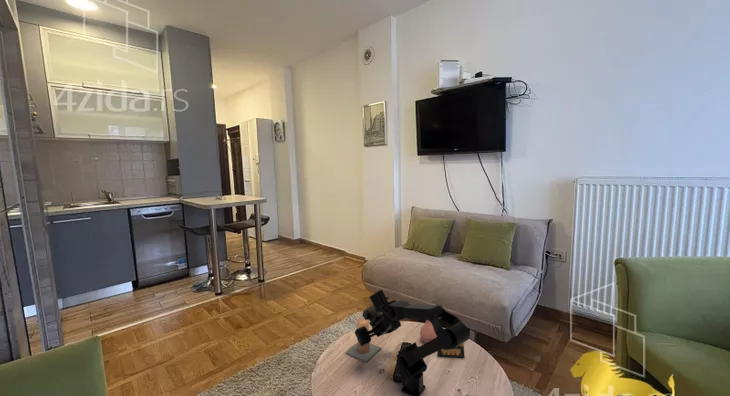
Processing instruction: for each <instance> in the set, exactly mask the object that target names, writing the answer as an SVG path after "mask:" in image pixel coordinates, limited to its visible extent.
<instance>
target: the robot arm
mask: <svg viewBox="0 0 730 396" xmlns="http://www.w3.org/2000/svg"><path fill="white" fill-rule="evenodd" d="M368 299H369V300H370V302H371V304H372V305H370V306H368V307H366V308H364V310H363V311H362V318H365V320H369V327H371V329H369V331H367V329H366V327H365V326H362V327H360V328H358V329H357V328H356V329H355V330H354V334H355V337H356V339H358V341H359V343H360V345H361V346H364V345H366V344H368V343H371V342H372V338H373V337H375V336H376V338H379V337H381V336H383V335H387V334H391V333H393V332H395V331H397V330H398V329H399V328H401V327H402V324H401V321H400V320H403V319H413V320H421V321H422V320H423V321H427V320H429V321H430V322H431V323H432V325H433V328H434V332H435V334H436V335H437V337H436V338H434V339H432V340H430V341H428V342H424V343H423V344H421V345H419V346H418V345H417V342H415V341H414V342H413V343H411V344H409V345H408V346H405V347H403V348H402V349H399V350H398V351H397V354H396V363H397V368H398V373H399V375H400V376H401V378H402V379H401V380H402V381H401V383H402V388H400V390H401V392H403V393H405V394H407V395H409V396H421V395H422V393H423V392H424V390H425V389H426V385H425V384H424V372H426V371H427V369H428V366H427V364H426V362H425V361H424V359H425V358H426V357H428V356H429V357H430V356H431V355H432V354H435V353H437V351H439V350H441V349H444V350H450V351H451V349H455V348H456V347H458V346H459V345H461V344H463V343H464V344H465V343H466V342H467V341H469V340H470V338H471V333H470V330H469V328H468V327H467V325H466V324H465V323H464V322H463V321H462V320H461V319H460V318H459V317H457V316H456V315H455V314H452V312H451V313H450V312H449V311H447V310H446V309H445V308H444V307H442V305H439V304H435V305H428V304H427V305H424V304H410V303H409V301H405V300H401V299H400V300H395V299H392V300H391V301H389V300H388V299H387V296H386V295H385V293H384V291H383V289H379V290H378V291H377V292H375V293H373V294H372V295H370V296H369V298H368ZM440 320H442V322H445V323H447V324H449V325H448V326H446V327H445V328H444V327H443V326H442V325H441V322H440ZM358 341H357V342H358Z"/></svg>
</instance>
